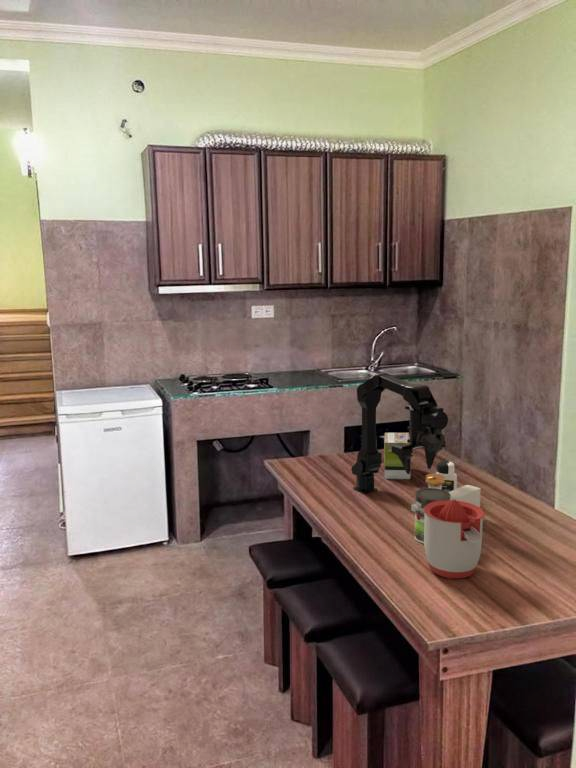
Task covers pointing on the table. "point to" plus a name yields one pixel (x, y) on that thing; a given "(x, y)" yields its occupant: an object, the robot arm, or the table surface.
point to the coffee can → (421, 501)
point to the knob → (435, 481)
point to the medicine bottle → (447, 475)
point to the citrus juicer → (453, 537)
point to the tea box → (394, 456)
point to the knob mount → (463, 495)
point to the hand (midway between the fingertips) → (418, 471)
